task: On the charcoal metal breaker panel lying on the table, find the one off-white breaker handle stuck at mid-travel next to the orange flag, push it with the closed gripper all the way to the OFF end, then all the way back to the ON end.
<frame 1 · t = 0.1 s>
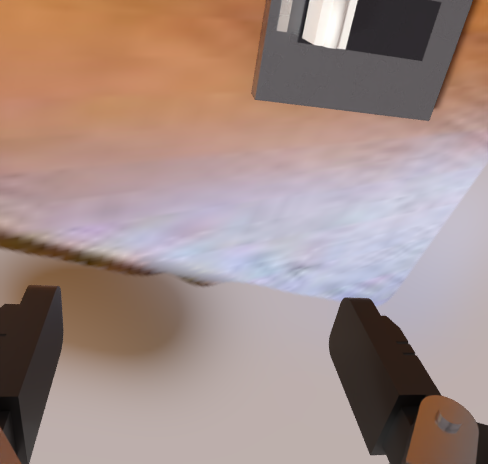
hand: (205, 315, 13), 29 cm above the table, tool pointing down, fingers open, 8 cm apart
breaker 1: (329, 17, 32), point 4 cm above the table, slide at -4.0 cm
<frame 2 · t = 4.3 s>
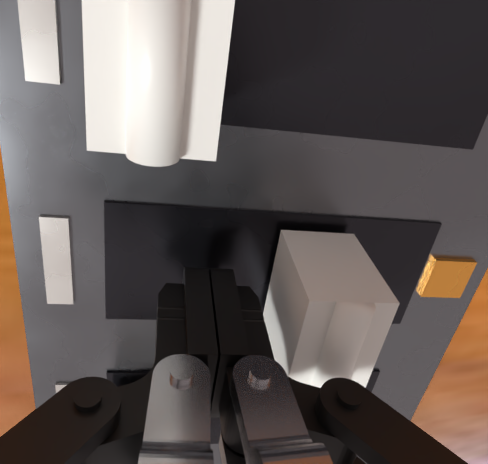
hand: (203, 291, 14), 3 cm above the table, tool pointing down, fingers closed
breaker 2: (159, 42, 9), point 4 cm above the table, slide at -4.0 cm
breaker panel: (262, 238, 17), on the table
breaker tripped: (322, 317, 13), point 4 cm above the table, slide at 1.1 cm, touching gripper
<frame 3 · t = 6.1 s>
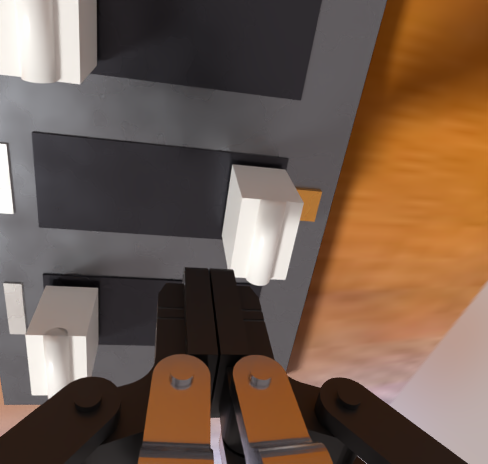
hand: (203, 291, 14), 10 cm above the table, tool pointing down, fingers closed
breaker 2: (47, 11, 14), point 4 cm above the table, slide at -4.0 cm
breaker 1: (65, 343, 21), point 4 cm above the table, slide at -4.0 cm
breaker panel: (164, 175, 22), on the table
breaker tripped: (259, 223, 19), point 4 cm above the table, slide at 4.1 cm
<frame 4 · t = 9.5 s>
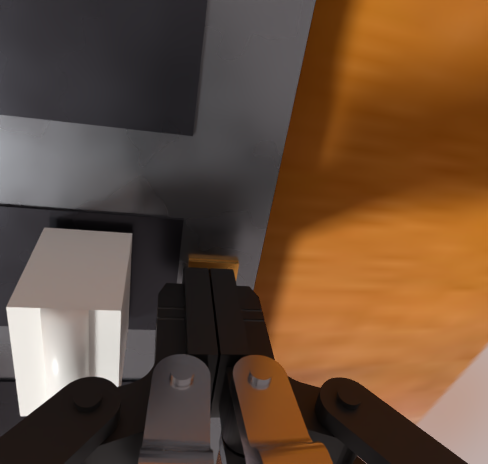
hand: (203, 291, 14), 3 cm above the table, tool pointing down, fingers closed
breaker panel: (15, 234, 15), on the table
breaker tripped: (78, 325, 12), point 4 cm above the table, slide at 2.7 cm, touching gripper
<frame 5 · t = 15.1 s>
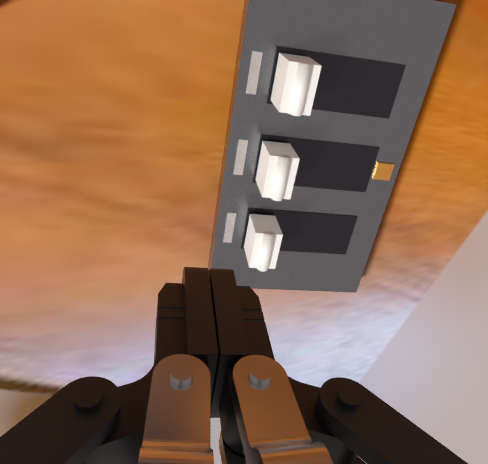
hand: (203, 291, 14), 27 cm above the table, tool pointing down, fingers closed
breaker 2: (295, 84, 34), point 4 cm above the table, slide at -4.0 cm
breaker 1: (262, 242, 40), point 4 cm above the table, slide at -4.0 cm
breaker panel: (309, 156, 41), on the table
breaker tripped: (276, 171, 37), point 4 cm above the table, slide at -4.1 cm
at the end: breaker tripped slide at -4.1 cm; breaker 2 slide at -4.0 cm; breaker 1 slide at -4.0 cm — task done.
